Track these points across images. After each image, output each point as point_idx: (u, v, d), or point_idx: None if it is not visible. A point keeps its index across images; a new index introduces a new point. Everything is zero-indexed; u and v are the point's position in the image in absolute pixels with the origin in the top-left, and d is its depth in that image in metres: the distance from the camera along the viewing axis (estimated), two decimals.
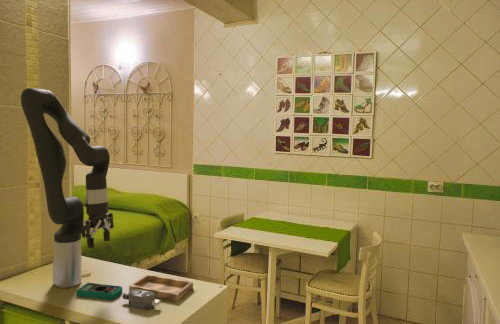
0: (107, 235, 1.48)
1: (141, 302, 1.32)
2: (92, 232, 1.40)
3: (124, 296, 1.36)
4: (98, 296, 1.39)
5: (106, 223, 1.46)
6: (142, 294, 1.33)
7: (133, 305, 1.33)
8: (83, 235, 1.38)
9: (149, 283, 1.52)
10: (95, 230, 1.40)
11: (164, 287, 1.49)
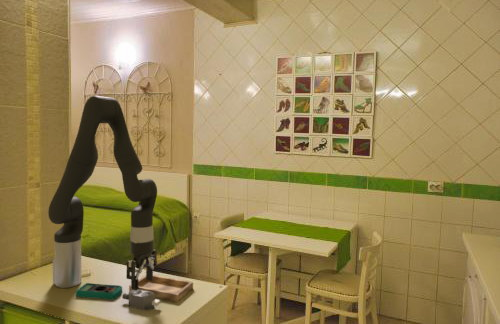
0: (150, 274, 1.37)
1: (141, 302, 1.32)
2: (137, 273, 1.29)
3: (124, 296, 1.36)
4: (99, 296, 1.39)
5: (150, 262, 1.35)
6: (142, 294, 1.33)
7: (133, 305, 1.33)
8: (128, 277, 1.27)
9: (149, 283, 1.52)
10: (140, 271, 1.30)
11: (164, 287, 1.49)
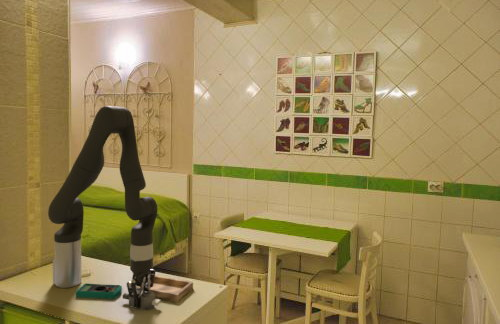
0: None
1: (141, 302, 1.32)
2: (139, 292, 1.31)
3: (124, 296, 1.36)
4: (99, 296, 1.39)
5: (149, 280, 1.35)
6: (142, 294, 1.33)
7: (133, 305, 1.33)
8: (131, 296, 1.30)
9: None
10: (141, 289, 1.32)
11: (164, 287, 1.49)
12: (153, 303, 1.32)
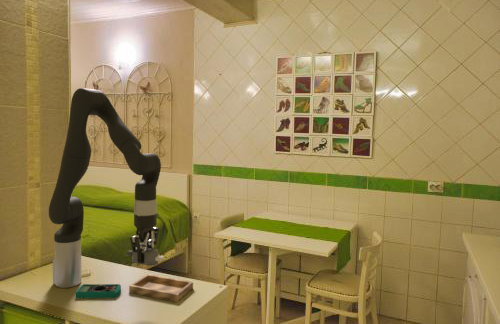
0: None
1: (145, 257, 1.33)
2: (142, 247, 1.32)
3: (128, 253, 1.37)
4: (100, 296, 1.40)
5: (152, 237, 1.36)
6: (145, 250, 1.34)
7: (137, 261, 1.34)
8: (134, 251, 1.30)
9: (149, 283, 1.52)
10: (145, 244, 1.32)
11: (164, 287, 1.49)
12: (156, 259, 1.32)
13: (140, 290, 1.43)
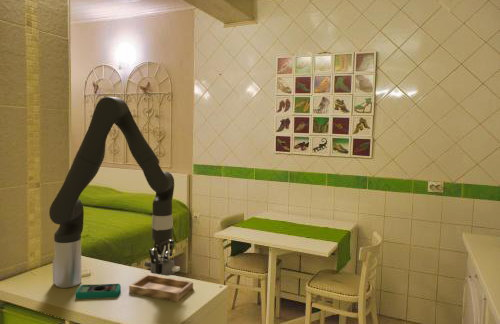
0: None
1: (162, 268, 1.44)
2: (160, 259, 1.42)
3: (146, 264, 1.48)
4: (101, 295, 1.40)
5: (168, 249, 1.47)
6: (162, 262, 1.45)
7: (155, 271, 1.45)
8: (153, 262, 1.41)
9: (149, 283, 1.52)
10: (162, 256, 1.43)
11: (164, 287, 1.49)
12: (173, 269, 1.44)
13: (140, 290, 1.43)
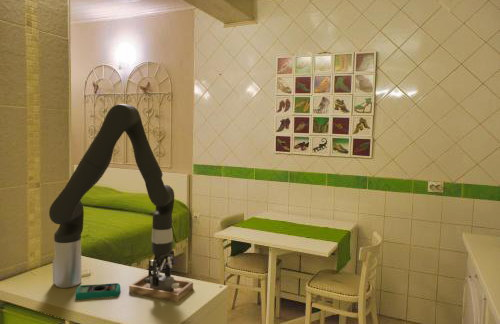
0: (168, 272, 1.50)
1: (162, 285, 1.44)
2: (158, 271, 1.42)
3: (146, 280, 1.48)
4: (101, 295, 1.40)
5: (169, 261, 1.48)
6: (162, 278, 1.46)
7: (154, 288, 1.46)
8: (150, 274, 1.40)
9: None
10: (160, 269, 1.43)
11: None
12: (173, 286, 1.44)
13: (140, 290, 1.43)
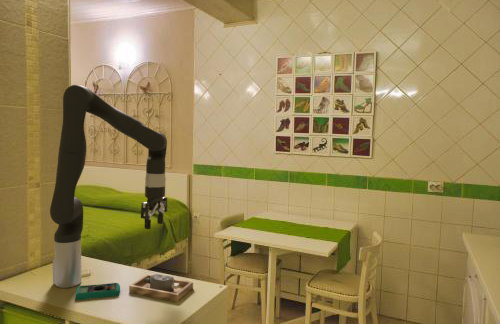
0: (161, 218, 1.55)
1: (162, 285, 1.44)
2: (150, 214, 1.46)
3: (146, 280, 1.48)
4: (102, 295, 1.40)
5: (161, 206, 1.53)
6: (162, 278, 1.46)
7: (154, 288, 1.46)
8: (142, 216, 1.45)
9: None
10: (153, 212, 1.47)
11: None
12: (173, 286, 1.44)
13: (140, 290, 1.43)
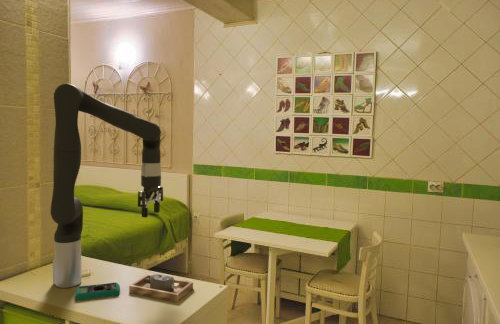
0: (157, 207, 1.59)
1: (162, 285, 1.44)
2: (147, 202, 1.50)
3: (146, 280, 1.48)
4: (102, 295, 1.40)
5: (158, 195, 1.56)
6: (162, 278, 1.46)
7: (154, 288, 1.46)
8: (139, 205, 1.48)
9: None
10: (149, 201, 1.51)
11: None
12: (173, 286, 1.44)
13: (140, 290, 1.43)
